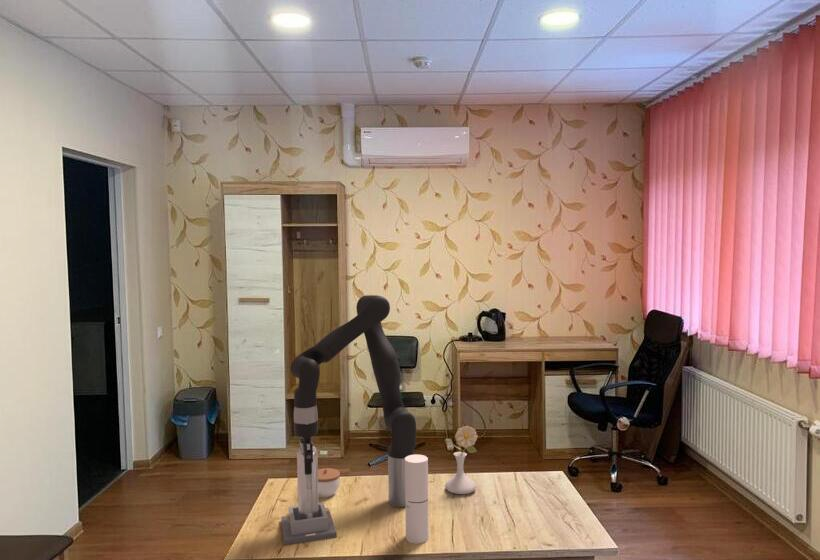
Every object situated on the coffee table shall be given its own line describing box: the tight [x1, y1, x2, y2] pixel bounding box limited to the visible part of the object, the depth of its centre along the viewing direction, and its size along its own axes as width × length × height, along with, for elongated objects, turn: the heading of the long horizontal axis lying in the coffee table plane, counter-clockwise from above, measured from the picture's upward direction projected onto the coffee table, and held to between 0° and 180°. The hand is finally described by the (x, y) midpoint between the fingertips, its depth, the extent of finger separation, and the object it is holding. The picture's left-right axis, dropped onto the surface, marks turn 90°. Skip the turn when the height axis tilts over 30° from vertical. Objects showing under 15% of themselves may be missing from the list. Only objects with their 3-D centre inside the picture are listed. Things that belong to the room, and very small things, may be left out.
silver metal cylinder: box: [296, 445, 319, 520], centre depth 181 cm, size 6×6×25 cm
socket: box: [280, 502, 337, 546], centre depth 181 cm, size 16×16×6 cm
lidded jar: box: [318, 467, 341, 499], centre depth 208 cm, size 11×11×9 cm
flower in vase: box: [444, 425, 479, 495], centre depth 209 cm, size 13×11×25 cm
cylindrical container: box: [404, 454, 430, 544], centre depth 174 cm, size 7×7×25 cm
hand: (306, 469), depth 181 cm, fingers open, 8 cm apart
